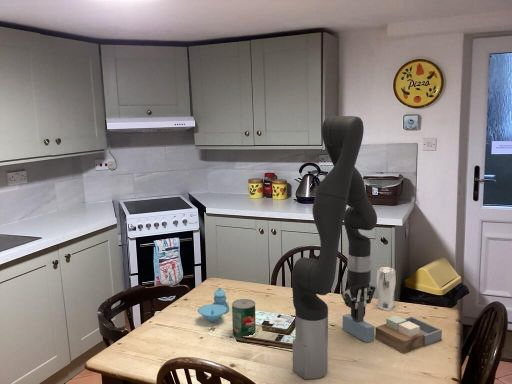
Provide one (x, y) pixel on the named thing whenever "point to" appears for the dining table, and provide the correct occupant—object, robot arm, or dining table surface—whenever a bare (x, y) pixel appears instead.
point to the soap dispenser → (215, 307)
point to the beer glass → (385, 287)
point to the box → (427, 331)
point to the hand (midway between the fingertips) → (358, 317)
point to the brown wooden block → (398, 339)
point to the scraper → (359, 325)
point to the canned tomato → (243, 318)
